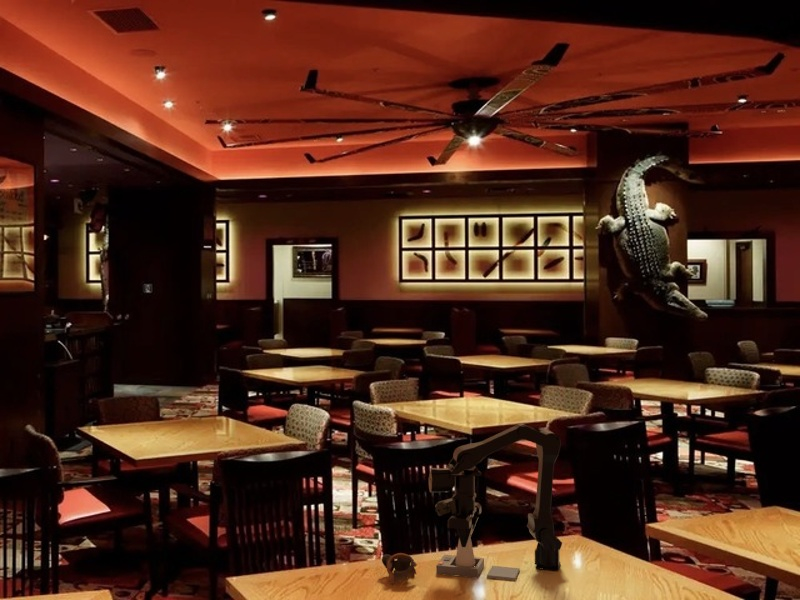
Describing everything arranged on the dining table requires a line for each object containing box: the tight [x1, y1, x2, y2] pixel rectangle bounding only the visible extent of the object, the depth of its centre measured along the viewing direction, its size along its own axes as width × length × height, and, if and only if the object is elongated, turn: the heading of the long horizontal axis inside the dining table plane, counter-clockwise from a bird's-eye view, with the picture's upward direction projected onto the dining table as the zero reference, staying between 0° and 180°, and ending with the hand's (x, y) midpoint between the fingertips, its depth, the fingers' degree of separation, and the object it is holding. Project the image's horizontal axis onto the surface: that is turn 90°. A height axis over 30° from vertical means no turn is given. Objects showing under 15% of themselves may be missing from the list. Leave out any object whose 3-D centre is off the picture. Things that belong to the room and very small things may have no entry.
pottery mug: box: [381, 552, 418, 585], centre depth 223 cm, size 12×10×8 cm
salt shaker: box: [455, 530, 475, 568], centre depth 229 cm, size 6×6×13 cm
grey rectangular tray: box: [435, 554, 485, 579], centre depth 229 cm, size 12×10×3 cm
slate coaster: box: [486, 565, 520, 582], centre depth 225 cm, size 8×8×1 cm
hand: (465, 544), depth 229 cm, fingers closed on salt shaker, 4 cm apart
